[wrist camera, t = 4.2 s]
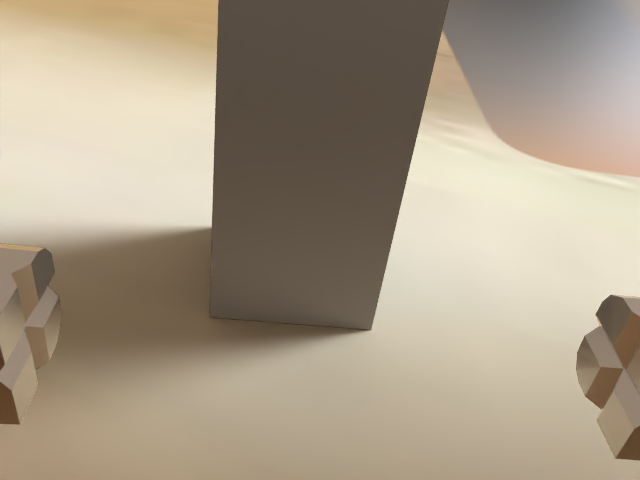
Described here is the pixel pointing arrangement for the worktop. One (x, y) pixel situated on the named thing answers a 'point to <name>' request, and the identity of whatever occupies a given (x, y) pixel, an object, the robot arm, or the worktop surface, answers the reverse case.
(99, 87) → the worktop surface
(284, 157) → the tall taupe square pillar
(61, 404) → the worktop surface
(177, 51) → the worktop surface
